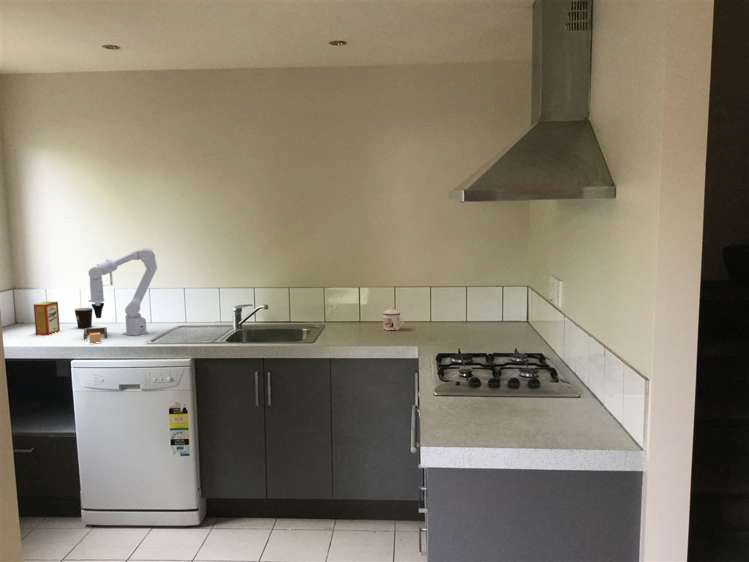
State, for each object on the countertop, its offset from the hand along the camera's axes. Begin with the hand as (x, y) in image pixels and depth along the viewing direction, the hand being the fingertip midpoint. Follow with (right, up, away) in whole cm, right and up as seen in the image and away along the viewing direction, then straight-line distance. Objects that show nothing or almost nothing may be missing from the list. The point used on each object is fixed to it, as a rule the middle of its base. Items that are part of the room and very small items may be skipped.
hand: (98, 318), depth 301 cm
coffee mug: (-17, -7, +21) cm, 28 cm away
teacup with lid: (+147, -7, +10) cm, 148 cm away
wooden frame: (-1, -9, -1) cm, 9 cm away
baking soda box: (-30, -9, +8) cm, 32 cm away
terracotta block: (+5, -11, -14) cm, 19 cm away
